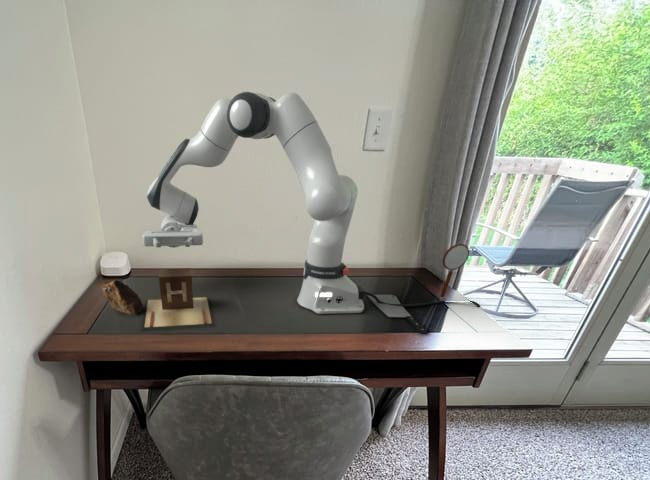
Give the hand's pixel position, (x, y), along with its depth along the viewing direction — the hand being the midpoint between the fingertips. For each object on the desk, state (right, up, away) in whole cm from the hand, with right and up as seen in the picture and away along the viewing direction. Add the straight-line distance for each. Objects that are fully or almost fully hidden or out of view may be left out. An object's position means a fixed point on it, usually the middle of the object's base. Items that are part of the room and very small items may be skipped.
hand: (173, 244), depth 115 cm
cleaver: (+73, -22, +2) cm, 76 cm away
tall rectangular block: (+1, -19, +3) cm, 19 cm away
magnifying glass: (+93, -17, +11) cm, 95 cm away
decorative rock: (-15, -22, 0) cm, 27 cm away
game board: (+2, -22, -1) cm, 22 cm away
